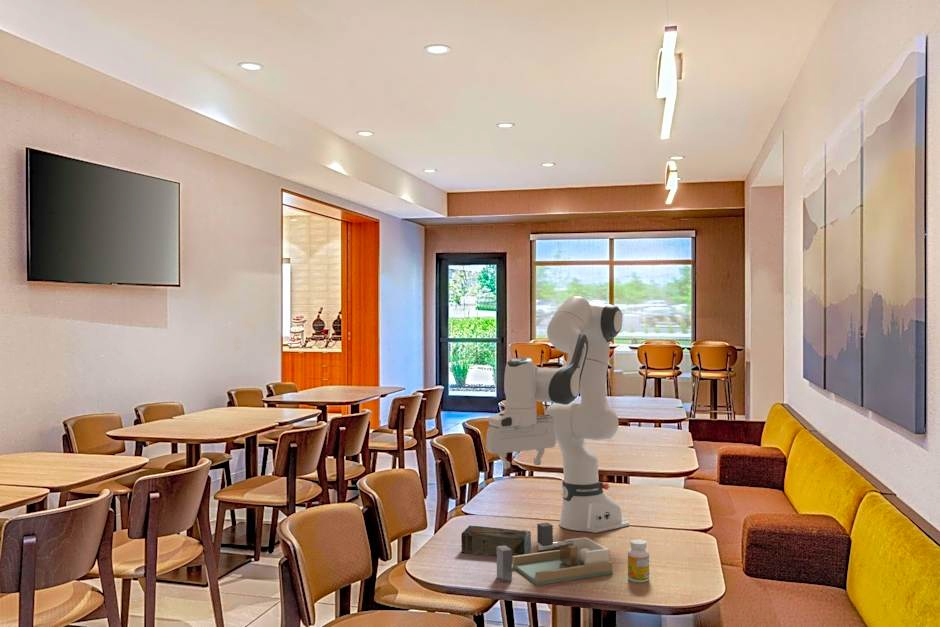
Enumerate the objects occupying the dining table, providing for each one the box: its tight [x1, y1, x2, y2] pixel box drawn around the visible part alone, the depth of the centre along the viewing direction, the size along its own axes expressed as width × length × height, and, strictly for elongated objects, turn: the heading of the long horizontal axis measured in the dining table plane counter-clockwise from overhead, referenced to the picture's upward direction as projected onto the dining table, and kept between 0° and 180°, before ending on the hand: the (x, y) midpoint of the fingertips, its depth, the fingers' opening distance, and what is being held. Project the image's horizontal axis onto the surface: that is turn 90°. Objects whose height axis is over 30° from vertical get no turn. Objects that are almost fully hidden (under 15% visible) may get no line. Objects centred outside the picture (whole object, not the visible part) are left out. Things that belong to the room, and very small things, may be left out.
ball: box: [578, 548, 590, 563], centre depth 208 cm, size 4×4×4 cm
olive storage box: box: [460, 525, 532, 558], centre depth 222 cm, size 8×19×7 cm, turn 73°
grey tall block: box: [496, 545, 513, 583], centre depth 199 cm, size 2×4×8 cm, turn 21°
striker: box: [536, 522, 578, 567], centre depth 205 cm, size 10×6×11 cm, turn 111°
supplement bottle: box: [627, 538, 650, 583], centre depth 198 cm, size 5×5×10 cm
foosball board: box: [512, 536, 614, 586], centre depth 206 cm, size 22×15×6 cm
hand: (522, 466), depth 214 cm, fingers open, 8 cm apart
